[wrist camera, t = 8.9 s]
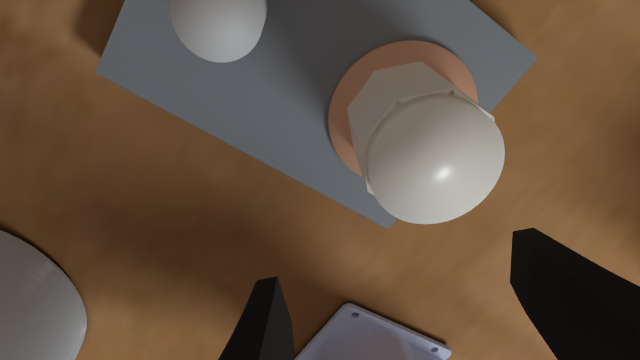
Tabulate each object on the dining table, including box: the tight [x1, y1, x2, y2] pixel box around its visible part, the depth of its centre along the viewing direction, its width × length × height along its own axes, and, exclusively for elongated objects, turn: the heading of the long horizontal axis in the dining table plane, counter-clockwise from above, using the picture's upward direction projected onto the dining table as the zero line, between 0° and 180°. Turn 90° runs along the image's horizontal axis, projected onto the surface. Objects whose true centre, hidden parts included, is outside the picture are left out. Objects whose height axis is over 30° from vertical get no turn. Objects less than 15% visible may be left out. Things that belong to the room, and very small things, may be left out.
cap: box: [347, 61, 505, 224], centre depth 17 cm, size 5×5×5 cm
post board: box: [95, 0, 538, 229], centre depth 17 cm, size 16×11×5 cm
